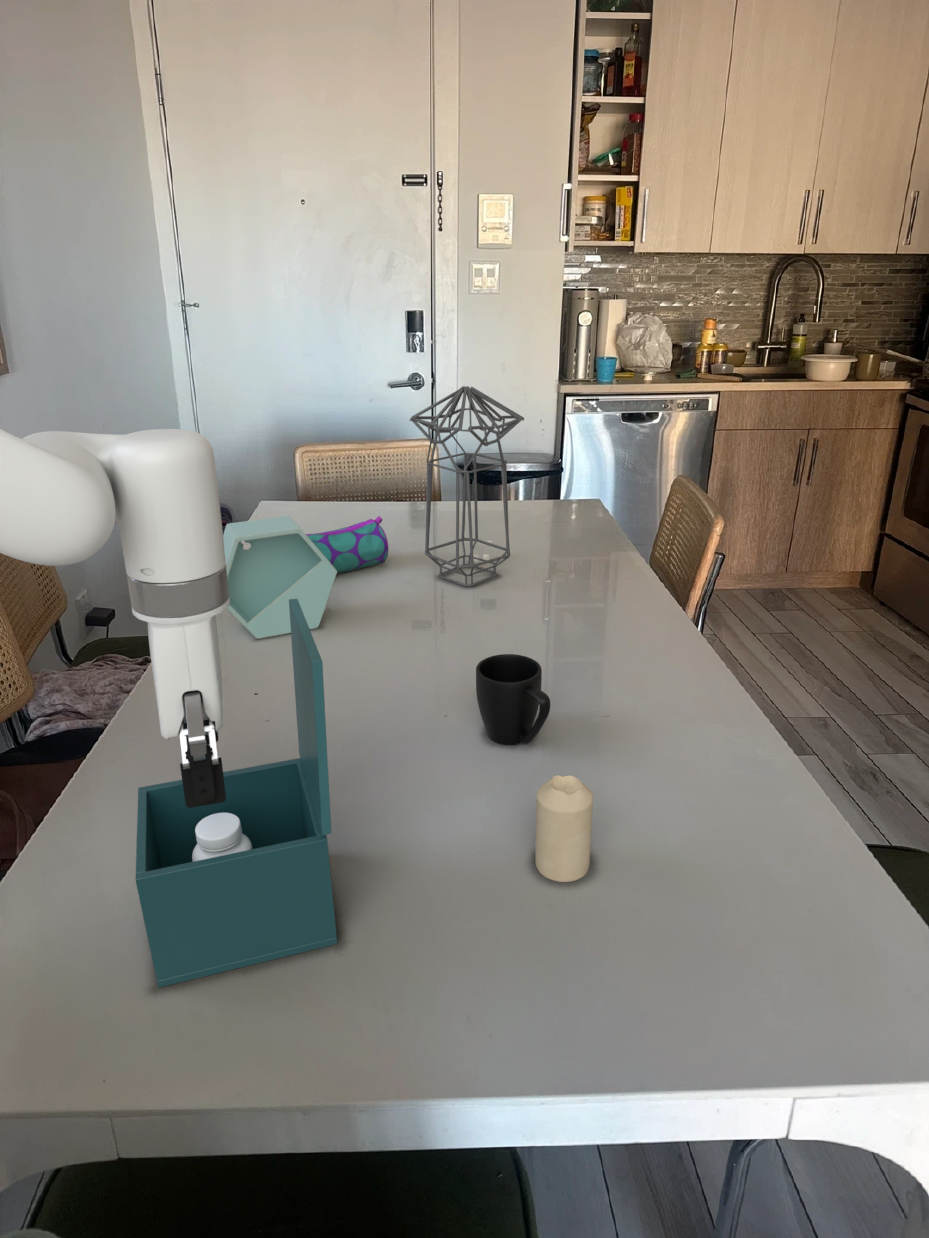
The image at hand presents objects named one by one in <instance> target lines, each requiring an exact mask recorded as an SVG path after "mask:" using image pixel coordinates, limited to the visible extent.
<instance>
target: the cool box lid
mask: <svg viewBox="0 0 929 1238" xmlns="http://www.w3.org/2000/svg"><path fill="white" fill-rule="evenodd" d="M289 610H290V625H291V633H290V638H291V651H292V652H291V655H292V669H293V684H294V697H295V713H296V714H295V715H296V727H297V728H296V729H297V742H298V753H299V758H301V762H302V765H303V769H304V773H305V776H306V780H307V783H308V787H309V790H310V794H311V797H312V801H313V804H314V808H315V812H316V815H317V819H318V822H319V826H320V829H321V833H322V835H326V836H328V835H331V834H332V819H331V801H330V800H331V799H330V783H329V781H330V779H329V762H328V761H329V760H328V742H327V726H326V725H327V724H326V723H327V721H326V706H325V705H326V704H325V683H324V668H323V667H324V666H323V664H324V663H323V659H322V657H321V654H320V652H319V649H318V647H317V644H316V642H315V640H314V636H313V634H312V632H311V629H309V626H308V624H307V621H306V619H305V616H304V614H303V611H302V609H301V606H300V604H299V601H298V599H289Z"/></svg>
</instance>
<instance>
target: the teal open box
mask: <svg viewBox="0 0 929 1238" xmlns="http://www.w3.org/2000/svg"><path fill="white" fill-rule="evenodd" d="M223 776H224V784H225V793H226V800H225V801H224V802H222V803H216V804H211V805H205V806H199V807H193V808H188V807H187V806H186V804H185V797H184V790H183V782H182V779H178V780H177V779H176V780H172V781H167V782H162V783H157V784H150V785H145V786H140V787H137V815H136V845H135V846H136V847H135V848H136V849H135V853H136V854H135V877H134V879H135V884H136V890H137V894H138V898H139V904H140V908H141V912H142V918H143V922H144V927H145V931H146V936H147V941H148V946H149V951H150V955H151V960H152V965H153V969H154V974H155V979H156V984H157V987H158V988H164V987H167V986H172V985H177V984H180V983H184V982H188V981H192V980H196V979H200V978H204V977H209V976H212V975H216V974H221V973H225V972H228V971H232V970H236V969H241V968H245V967H248V966H254V965H258V964H261V963H266V962H270V961H274V960H278V959H282V958H287V957H289V956H290V957H291V956H294V955H297V954H302V953H306V952H310V951H314V950H318V949H322V948H327V947H330V946H334V945H338V938H337V937H338V934H337V925H336V915H335V904H334V895H333V885H332V875H331V874H332V873H331V863H330V855H329V854H330V852H329V844H328V838H327V835H322V833H321V829H320V826H319V822H318V819H317V815H316V812H315V808H314V804H313V801H312V797H311V794H310V790H309V787H308V783H307V780H306V776H305V773H304V769H303V765H302V762H301V758H300V757H298V758H293V759H288V760H282V761H276V762H271V763H270V762H269V763H266V764H265V763H264V764H259V765H254V766H250V767H248V766H247V767H243V768H238V769H237V768H236V769H233V770H232V769H231V770H227V771H223ZM216 813H231V814H234V815H236V816H237V817H238V818H239V820H240V823H241V828H242V834H244V835H246V836H247V837H248V838H249V840H250V841H251V844H252V848H253V849H252V850H247V851H242V852H237V853H232V854H228V855H223V856H218V857H213V858H209V859H204V860H199V861H194V862H192V853H193V850H194V848H195V846H196V845H197V840H196V833H195V828H196V826H197V824H198V823H199V822H200V821H201V820H202V819H204V818H205V817H207V816H210V815H212V814H216Z"/></svg>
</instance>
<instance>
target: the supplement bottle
mask: <svg viewBox="0 0 929 1238" xmlns="http://www.w3.org/2000/svg"><path fill="white" fill-rule="evenodd" d="M195 833H196V840H197V845H196V846H195V848H194V850H193V853H192V862H194V861H199V860H204V859H209V858H213V857H218V856H223V855H228V854H232V853H237V852H242V851H247V850H252V849H253V848H252V844H251V841H250V840H249V838H248V837H247V836H246V835H244V834H242V828H241V823H240V820H239V818H238V817H237V816H236V815H234V814H231V813H216V814H212V815H210V816H207V817H205V818H204V819H202V820H201V821H200V822H199V823H198V824H197V826H196V828H195Z"/></svg>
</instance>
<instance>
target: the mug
mask: <svg viewBox="0 0 929 1238" xmlns="http://www.w3.org/2000/svg"><path fill="white" fill-rule="evenodd" d="M542 671H543V670H542V666H541V665H540V663H539V662H538V661H537V660H535V659H533V658H531V657H528V656H526V655H521V654H514V653H504V654H503V653H502V654H496V655H490V656H488V657H486V658H483V659H481V661H479V662H478V663H477V665H476V667H475V692H476V700H477V705H478V709H479V714H480V716H481V721H482V724H483V725H484V729H485V732H486V736H487V737H488V739H489V740H490V741H492V742H493V743H495V744H499V745H502V746H503V745H504V746H515V745H518V744H528V743H530V742H532V741H533V739H535V737H536V736H537V735H538V733H539V732H540V731H541V729H542V728H543V725H544V724H545V722H546V721H547V719H548V717H549V715H550V712H551V698H550V697H549V696H548V695H547V693H545V692H544V691H542V680H543V679H542V678H543V677H542V676H543V675H542V674H543V673H542ZM537 714H538V715H537Z"/></svg>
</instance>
